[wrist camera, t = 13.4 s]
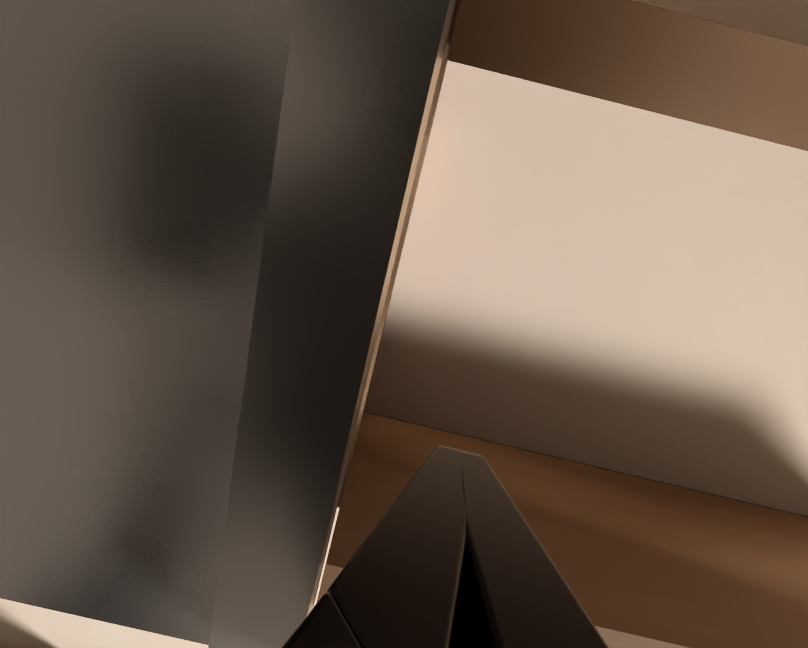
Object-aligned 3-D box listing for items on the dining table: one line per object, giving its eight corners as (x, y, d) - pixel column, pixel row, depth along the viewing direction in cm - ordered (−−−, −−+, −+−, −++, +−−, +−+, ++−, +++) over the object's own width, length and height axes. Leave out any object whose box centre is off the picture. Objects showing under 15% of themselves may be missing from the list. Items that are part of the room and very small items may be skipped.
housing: (829, 557, 19) (955, 750, 14) (-233, 308, 18) (-489, 420, 13) (1129, 145, 13) (1505, 225, 9) (-368, -239, 13) (-887, -390, 8)
